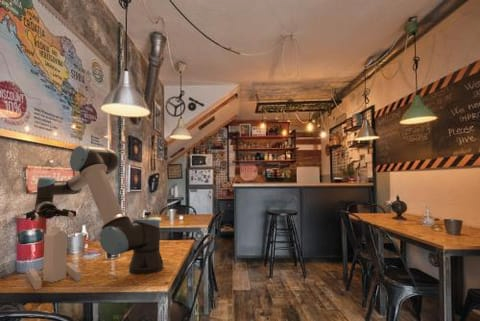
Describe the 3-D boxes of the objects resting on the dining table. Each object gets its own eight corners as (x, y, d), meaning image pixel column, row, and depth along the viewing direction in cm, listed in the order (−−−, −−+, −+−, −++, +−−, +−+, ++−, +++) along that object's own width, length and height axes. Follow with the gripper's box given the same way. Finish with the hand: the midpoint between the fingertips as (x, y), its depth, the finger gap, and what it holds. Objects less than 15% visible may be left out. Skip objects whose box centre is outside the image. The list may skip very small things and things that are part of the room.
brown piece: (28, 277, 127) (28, 269, 127) (69, 269, 138) (70, 262, 138) (35, 289, 112) (35, 280, 112) (81, 280, 123) (81, 271, 123)
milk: (52, 282, 120) (53, 228, 122) (42, 280, 123) (44, 227, 124) (66, 278, 126) (67, 225, 127) (57, 276, 128) (58, 225, 130)
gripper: (74, 216, 157) (85, 224, 141) (15, 219, 140) (20, 228, 125) (75, 202, 157) (86, 208, 141) (17, 203, 141) (22, 210, 125)
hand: (55, 217), depth 133 cm, fingers open, 13 cm apart
